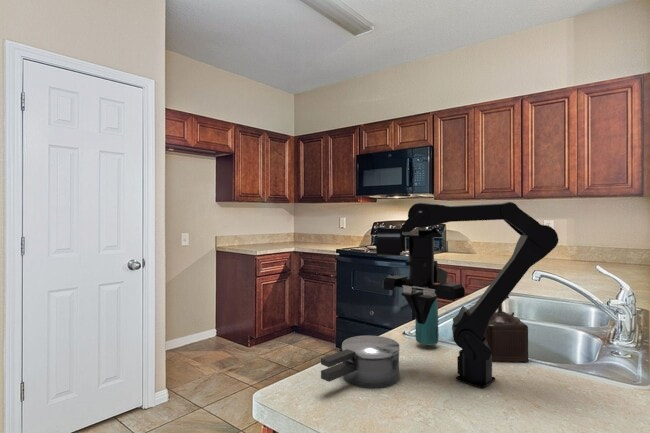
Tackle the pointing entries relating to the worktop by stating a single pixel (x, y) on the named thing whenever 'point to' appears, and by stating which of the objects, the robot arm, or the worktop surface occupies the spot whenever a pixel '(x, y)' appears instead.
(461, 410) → the worktop surface
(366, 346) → the lid
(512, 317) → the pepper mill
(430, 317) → the beverage bottle
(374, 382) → the pot
